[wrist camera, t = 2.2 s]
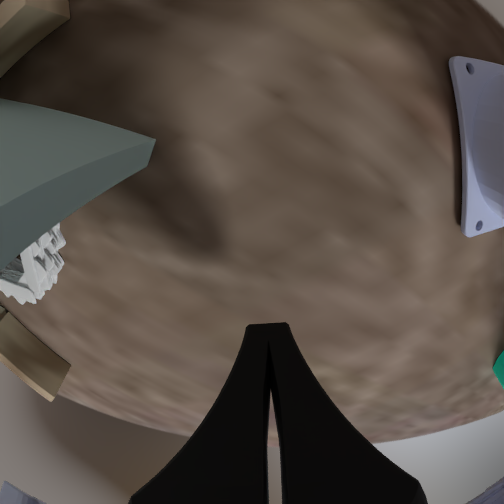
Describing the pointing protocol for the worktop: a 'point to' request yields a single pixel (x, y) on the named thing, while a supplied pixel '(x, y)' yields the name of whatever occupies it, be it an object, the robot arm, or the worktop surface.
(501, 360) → the candle
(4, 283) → the l-shaped corner panel
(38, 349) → the pocket
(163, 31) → the worktop surface
